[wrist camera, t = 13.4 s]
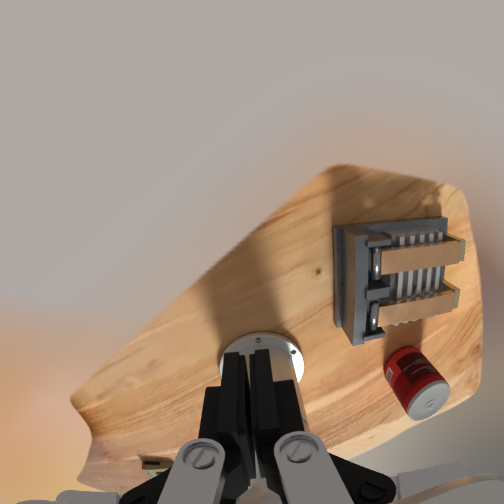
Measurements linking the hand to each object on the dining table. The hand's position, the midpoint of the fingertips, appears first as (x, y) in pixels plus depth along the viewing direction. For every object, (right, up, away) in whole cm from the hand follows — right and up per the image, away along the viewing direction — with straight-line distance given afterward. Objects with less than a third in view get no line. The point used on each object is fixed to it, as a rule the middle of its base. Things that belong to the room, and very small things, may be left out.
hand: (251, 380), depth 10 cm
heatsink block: (+20, +2, +28) cm, 34 cm away
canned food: (+26, -14, +33) cm, 44 cm away
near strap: (+20, +4, +21) cm, 30 cm away
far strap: (+21, -2, +23) cm, 31 cm away
